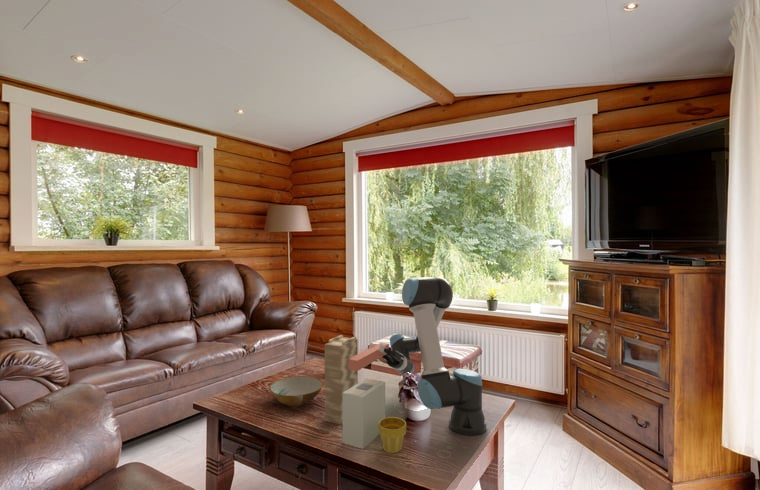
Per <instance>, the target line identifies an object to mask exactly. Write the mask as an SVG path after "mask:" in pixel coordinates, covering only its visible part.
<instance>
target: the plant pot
mask: <svg viewBox="0 0 760 490" xmlns="http://www.w3.org/2000/svg"><path fill="white" fill-rule="evenodd" d="M379 433H380V434H379V435H380V438H381V443H382V447H383V450H384V451H385V453H389V454H397V453H399V452H400V451H401V450H402V447H403V441H404V437H405V435H406V433H407V422H406V421H405V420H404V418H401V417H396V416H387V417H386V416H385V418H383V419H381V420H380V421H379Z"/></svg>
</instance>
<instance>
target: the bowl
mask: <svg viewBox="0 0 760 490" xmlns="http://www.w3.org/2000/svg"><path fill="white" fill-rule="evenodd" d="M323 383H324V382H323V381H322V380H321V379H319V378H315V377H312V376H300V375H299V376H291V377H285V378H281V379H278V380H276V381H274V382H273V383H271V385H269V387H268V388H269V391H270V393H271V395H272V396H273V398H275V400H276V401H278V402H279V403H281V404H283V405H286V406H288V407H302V406H304V405H306V404H308V403H310V402H311V401H313V400H314V399H315V398H316V397H318V395H319V393H320V391H321V390H322V388H323V386H324V384H323Z"/></svg>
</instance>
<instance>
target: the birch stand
mask: <svg viewBox="0 0 760 490" xmlns="http://www.w3.org/2000/svg"><path fill="white" fill-rule="evenodd" d="M358 345H359V343H358V338H357V336H353V337H345V336H344V335H343V334H340V335H337V336H335V337H333V338H330V339H328V342H327V343H324V415H323V421H326V422H329V423H333V424H336V425H340V426H341V425H343V392H345V391H346V390H348V389H350V388H351V387H353V386H355V385H356V384H358V383H359V382H358V381H359V380H358V379H359V374H358V371H359V370H358V371H354V370H349V359H350V358H352V357H354V356H355V355H357V354H359V353H358V350H359V349H358V348H359V347H358Z"/></svg>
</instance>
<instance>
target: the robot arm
mask: <svg viewBox="0 0 760 490" xmlns="http://www.w3.org/2000/svg"><path fill="white" fill-rule="evenodd" d="M453 293H454V292H453V288H452V286H451V284H450V283H449V281H448V280H446V279H445V278H443V277H440V276H424V277H421V276H420V277H417V276H416V277H410V278H409V277H408V278H407V279H406V280H405V281H404V283H403V285H402V291H401V300H402V302H403V304H404V305H405V306H408V308H409V309H408V310H409V311H410V312H411V313H413V318H414V324H415V329H416V334H417V335H416V336H414V337H412V336H411V337H405V336H404V334H402V333H395V334H392V335H391V336H390V337H389V346H390V347H389V348H386V347H385V346H383V345H382V344H380V346H379V351H380V352H381V353H383V354H385V355H384V356H383V357H381V358H382V359H383V360H385V362H386V364H387V365H388V367H390V368H392V369H394V370H395V371H396V372H399V373H400V374H401V375H404V374H403V373H404V372H409V373H412V374H413V373H414V371H415V364H414V361H412V360H411V357H410V354H413V353H420V357H421V364H422V369H423V370H422V372H421V374H420V379H419V380H418V382H417V392H418V396H419V399H420V401H421V403H422V404H423V406H424V407H425V408H427V409H428V410H435V409H437V410H439V409H442V408H447V407H452V410H451V414H450V416H449V419H448V426H449V428H450V429H451V430H452V431H454V432H455V433H458V434H460V435H464V436H479V435H481V434H483V433H485V432H486V431H487V421H486V419H485V415H484V412H483V380H482V376H481V374H480V373H478V372H476V371H474V370H472V369H466V368H455V369H454V370H453V371H452V374H451V375H450V371H449V370H450V369H447V368H446V367H445V365H444V359H443V354H442V349H441V345H440V344H441V343H440V338H439V334H438V333H439V332H438V327H439V325H440V323H441V320H442V319H443V316H444V314H445V312H446V310H447V309H448V308H450V306H451V304H452V302H453V299H454V297H453V296H454V294H453ZM375 345H376V344H374V343H373V342H370V343H369V346H368V349H369V348H371V347H373V346H375Z"/></svg>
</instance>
